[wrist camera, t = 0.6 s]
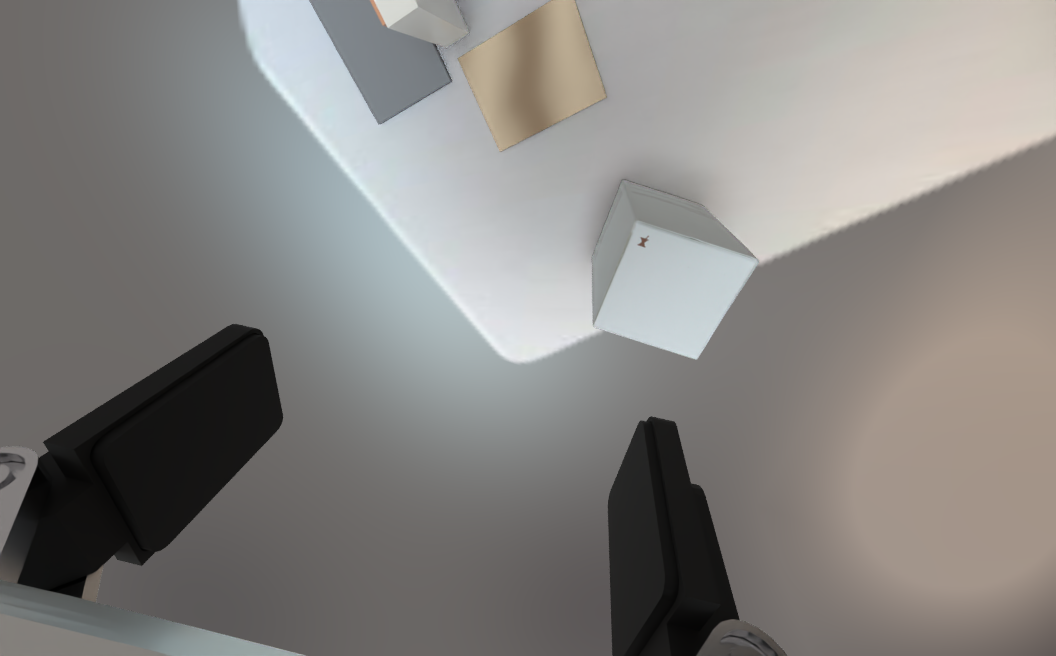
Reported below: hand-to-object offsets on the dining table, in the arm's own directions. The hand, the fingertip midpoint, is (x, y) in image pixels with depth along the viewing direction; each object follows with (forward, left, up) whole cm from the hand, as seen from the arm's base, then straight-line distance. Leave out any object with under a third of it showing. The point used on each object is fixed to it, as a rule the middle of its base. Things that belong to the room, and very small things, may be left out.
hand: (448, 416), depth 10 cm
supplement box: (-6, +6, -28) cm, 29 cm away
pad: (-2, -8, -28) cm, 29 cm away
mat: (+7, -17, -28) cm, 33 cm away
